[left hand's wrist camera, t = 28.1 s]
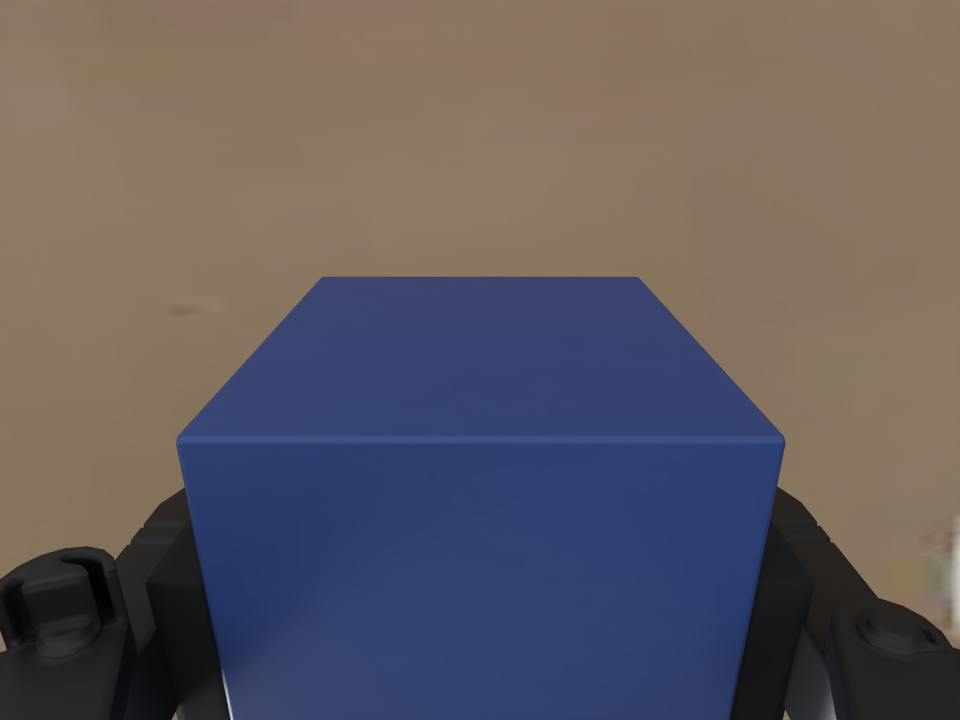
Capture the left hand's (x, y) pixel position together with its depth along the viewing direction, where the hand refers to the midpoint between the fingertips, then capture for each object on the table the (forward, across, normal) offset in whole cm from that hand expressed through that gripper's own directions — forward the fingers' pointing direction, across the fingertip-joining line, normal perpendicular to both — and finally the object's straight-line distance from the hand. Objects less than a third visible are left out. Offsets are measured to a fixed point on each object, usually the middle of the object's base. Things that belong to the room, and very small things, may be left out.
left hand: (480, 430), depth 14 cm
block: (+1, 0, 0) cm, 1 cm away
